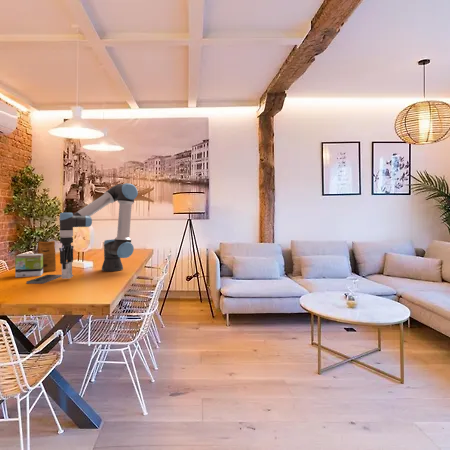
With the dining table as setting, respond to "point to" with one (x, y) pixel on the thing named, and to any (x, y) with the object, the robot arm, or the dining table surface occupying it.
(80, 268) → the dining table surface
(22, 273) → the tea box
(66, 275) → the block with top tab
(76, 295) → the dining table surface
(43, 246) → the coffee package
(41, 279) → the grey flat frame
